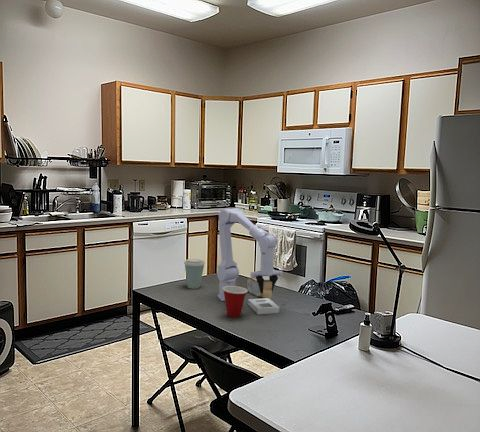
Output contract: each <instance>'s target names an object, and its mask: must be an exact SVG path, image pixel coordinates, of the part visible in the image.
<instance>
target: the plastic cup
mask: <svg viewBox="0 0 480 432" xmlns="http://www.w3.org/2000/svg"><path fill="white" fill-rule="evenodd" d="M223 291H224V296H225V301H224V302H225V303H224V304H225V308H226V314H227V317H230V318H234V319H235V318H240V317H241V315H242V311H243V306H244V302H245V297H246V294H247V293H248V292H249V291H248V289H247V288H245V287H242V286H237V285H235V286H225V287H223Z"/></svg>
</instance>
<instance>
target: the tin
mask: <svg viewBox="0 0 480 432" xmlns="http://www.w3.org/2000/svg"><path fill="white" fill-rule="evenodd" d="M246 289H247V290H248V291H247V292H249V294H252V295H253V296H255V297H257V298H263V297H262V296H260V289H259V285H258V282H257V280H256V277H251V276H250V277H248V278H247V279H246Z"/></svg>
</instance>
